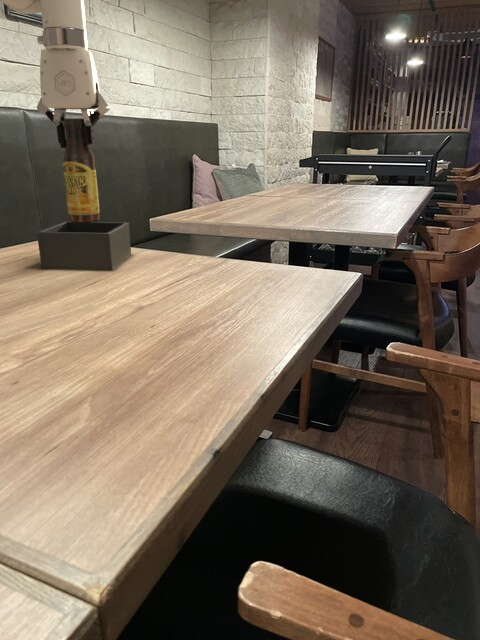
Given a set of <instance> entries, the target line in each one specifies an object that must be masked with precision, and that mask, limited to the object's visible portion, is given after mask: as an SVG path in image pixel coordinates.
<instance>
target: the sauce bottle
mask: <svg viewBox="0 0 480 640" xmlns="http://www.w3.org/2000/svg"><path fill="white" fill-rule="evenodd" d="M64 126H65V128H66V137H67V140H66V141H67V143H66V148H64V149H65V150H64V156H63V161H62V170H63V180H64V189H65V195H66V196H65V197H66V204H67V205H66V206H67V213H68V217H69V222H75V223H90V222H99V221H100V212H101V211H100V201H99V200H100V199H99V189H98V180H97V179H98V178H97V170H96V166H95V165H96V164H95V163H96V162H95V155H94V153H93V151H92V149H91V148H85V147H84V140H83V130H82V127H83V126H84V119H83V118H80V117H79V118H77V117H76V118H75V117H73V118H70V117H69V118H67V117H66V118H65V119H64Z"/></svg>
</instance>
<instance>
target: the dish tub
mask: <svg viewBox="0 0 480 640" xmlns="http://www.w3.org/2000/svg"><path fill="white" fill-rule="evenodd" d="M130 231H131V230H130V222H124V221H123V222H121V221H119V222H117V221H115V222H114V221H95V222H90V223H75V222H71V221H66V220H65V221H62V222H60V223H57V224H55V225H52V226H49V227H47V228H44V229H42V230H39V231H36V235H37V236H36V237H37V243H38V251H39V259H40V266H41V270H53V271H54V270H58V271H61V270H62V271H97V272H98V271H100V272H101V271H103V272H113V271H114V270H115V269H117V268H118V267H119V266H120V265H122V264H123V263H124V262H126V261H127V260H128V259H129V258H130V257H132V249H131V248H132V247H131V233H130Z"/></svg>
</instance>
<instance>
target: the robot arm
mask: <svg viewBox="0 0 480 640" xmlns="http://www.w3.org/2000/svg"><path fill="white" fill-rule="evenodd" d="M0 2H1V3H2V4H4V5H5V6H7V8H10V9H11V10H12V11H14V12H16V13H18V14H22V15H34V14H39V13H41V21H42V29H43V30H42V35H37V38H36V40H37V44H38V45H43V46H44V47H43V48H45V49H41V50H40V60H39V83H40V84H39V85H40V96H41V97H40V99H39V101H38V103H37V105H36V110H37V111H39V112H40V113H42V114H43V115H44V116H46V117H47V119H49V120H50V121H51V122H52V123H53V125H54V126H55V127H56V133H57V134H56V136H57V142H58V144H59V145H60V148H61V149H66V143H67V141H66V140H67V137H66V128H65V126H64V119H67V117H66V115H67V110H80V112H81V116H82V119H84V126H83V127H82V130H83V140H84V147H85V148H89V149H93V148H94V144H95V143H96V140H95V139H96V137H95V130H94V129H95V126H96V124H97V123H98V122H99V120H100V119H101V117H102V116H104V115H105V114H107V113H108V112H109V111H110V106H109V105H108V103H107V101H106V100H105V99H104V97H103V96H102V94H101V92H100V91H101V90H100V84H99V79H98V73H97V68H96V64H95V59H94V56H93V52H92V51H90V50H89V45H88V35H87V34H88V33H87V22H86V13H85V12H86V11H85V0H0ZM51 109H53V111H52V110H51ZM93 110H94V111H93Z"/></svg>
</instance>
